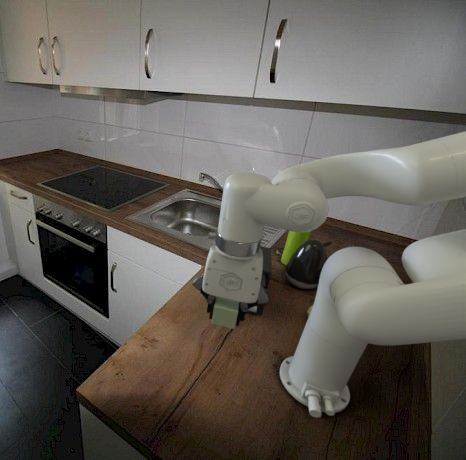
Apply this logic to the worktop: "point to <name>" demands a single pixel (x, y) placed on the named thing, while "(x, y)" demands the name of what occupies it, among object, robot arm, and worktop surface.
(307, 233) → the soap dispenser
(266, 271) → the black drawer box
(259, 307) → the black drawer with handle
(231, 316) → the block
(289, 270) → the black rounded piece
